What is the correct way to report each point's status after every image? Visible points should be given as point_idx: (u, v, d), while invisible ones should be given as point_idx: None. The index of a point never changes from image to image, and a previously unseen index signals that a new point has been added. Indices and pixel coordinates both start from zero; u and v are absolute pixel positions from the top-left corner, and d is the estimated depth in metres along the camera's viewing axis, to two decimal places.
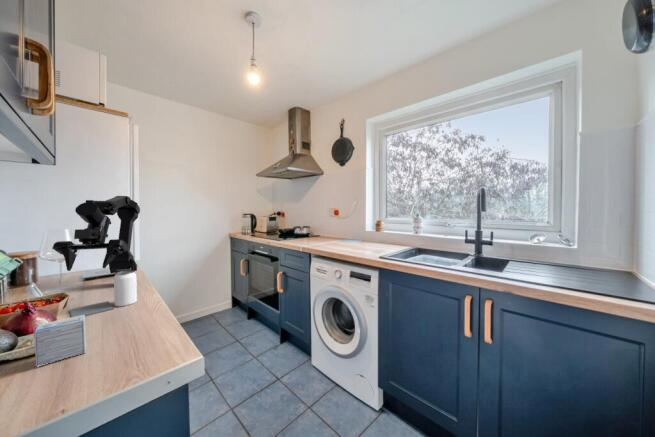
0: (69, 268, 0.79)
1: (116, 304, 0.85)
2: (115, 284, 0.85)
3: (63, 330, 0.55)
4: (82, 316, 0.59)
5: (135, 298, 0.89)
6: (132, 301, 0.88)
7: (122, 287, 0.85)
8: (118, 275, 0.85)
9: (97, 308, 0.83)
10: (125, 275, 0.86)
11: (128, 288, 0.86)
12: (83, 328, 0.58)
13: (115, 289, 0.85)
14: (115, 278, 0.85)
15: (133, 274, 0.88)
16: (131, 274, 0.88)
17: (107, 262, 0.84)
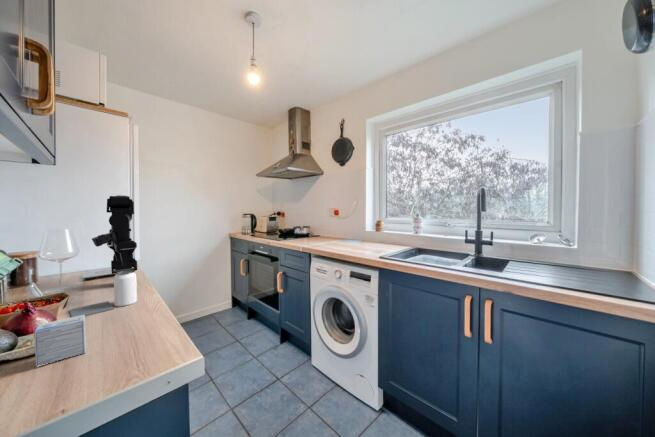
0: (118, 260, 1.00)
1: (116, 304, 0.85)
2: (115, 284, 0.85)
3: (63, 330, 0.55)
4: (82, 316, 0.59)
5: (135, 298, 0.89)
6: (132, 301, 0.88)
7: (122, 287, 0.85)
8: (118, 275, 0.85)
9: (97, 308, 0.83)
10: (125, 275, 0.86)
11: (128, 288, 0.86)
12: (83, 328, 0.58)
13: (115, 289, 0.85)
14: (115, 278, 0.85)
15: (133, 274, 0.88)
16: (131, 274, 0.88)
17: (124, 261, 0.94)
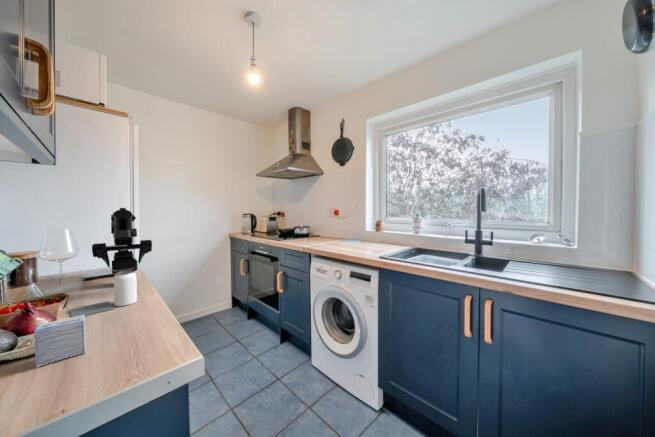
0: (109, 264, 0.91)
1: (116, 304, 0.85)
2: (115, 284, 0.85)
3: (63, 330, 0.55)
4: (82, 316, 0.59)
5: (135, 298, 0.89)
6: (132, 301, 0.88)
7: (122, 287, 0.85)
8: (118, 275, 0.85)
9: (97, 308, 0.83)
10: (125, 275, 0.86)
11: (128, 288, 0.86)
12: (83, 328, 0.58)
13: (115, 289, 0.85)
14: (115, 278, 0.85)
15: (133, 274, 0.88)
16: (131, 274, 0.88)
17: (141, 258, 0.98)
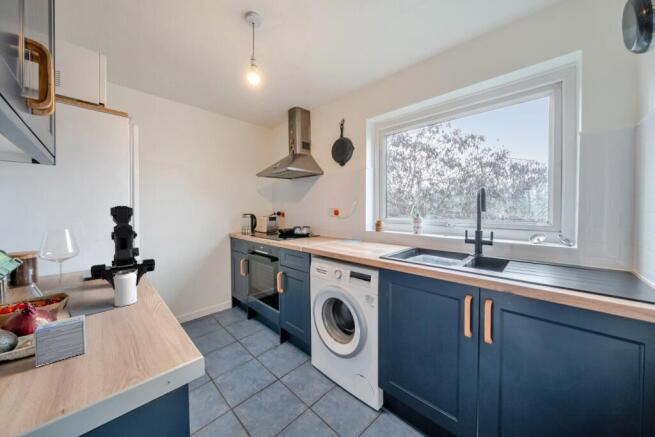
0: (114, 287, 0.85)
1: (116, 304, 0.85)
2: (115, 284, 0.85)
3: (63, 330, 0.55)
4: (82, 316, 0.59)
5: (135, 298, 0.89)
6: (132, 301, 0.88)
7: (122, 287, 0.85)
8: (118, 275, 0.85)
9: (97, 308, 0.83)
10: (125, 275, 0.86)
11: (128, 288, 0.86)
12: (83, 328, 0.58)
13: (115, 289, 0.85)
14: (115, 278, 0.85)
15: (133, 274, 0.88)
16: (131, 274, 0.88)
17: (139, 280, 0.91)
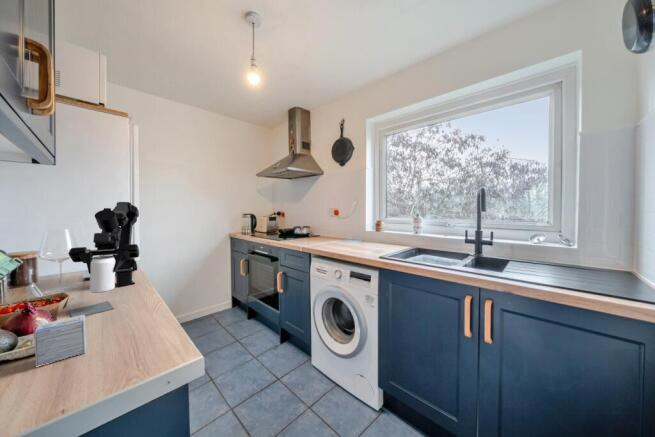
0: (90, 271, 0.82)
1: (90, 290, 0.81)
2: (91, 268, 0.81)
3: (63, 330, 0.55)
4: (82, 316, 0.59)
5: (111, 285, 0.84)
6: (107, 289, 0.83)
7: (97, 273, 0.81)
8: (94, 259, 0.81)
9: (97, 308, 0.83)
10: (101, 260, 0.81)
11: (103, 274, 0.82)
12: (83, 328, 0.58)
13: (90, 273, 0.81)
14: (91, 262, 0.81)
15: (110, 260, 0.84)
16: (108, 259, 0.83)
17: (117, 266, 0.86)
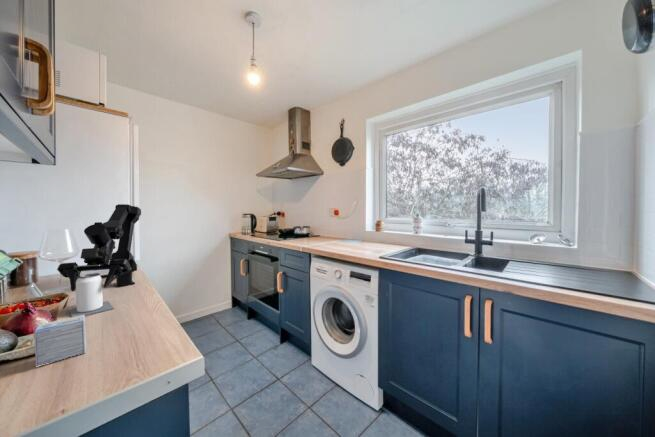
0: (73, 288, 0.80)
1: (77, 309, 0.80)
2: (76, 288, 0.80)
3: (63, 330, 0.55)
4: (82, 316, 0.59)
5: (98, 304, 0.82)
6: (93, 308, 0.81)
7: (81, 292, 0.79)
8: (78, 278, 0.79)
9: None
10: (84, 279, 0.80)
11: (87, 293, 0.80)
12: (83, 328, 0.58)
13: (76, 293, 0.80)
14: (76, 281, 0.80)
15: (95, 278, 0.82)
16: (92, 278, 0.81)
17: (109, 281, 0.84)
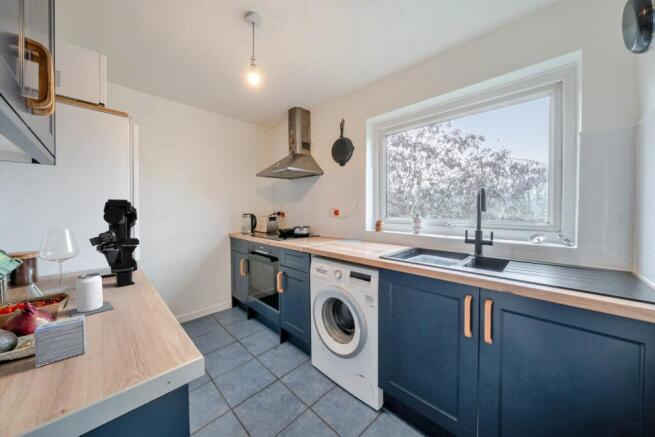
0: (111, 265, 0.98)
1: (77, 309, 0.80)
2: (76, 288, 0.80)
3: (63, 330, 0.55)
4: (82, 316, 0.59)
5: (98, 304, 0.82)
6: (93, 308, 0.81)
7: (81, 292, 0.79)
8: (78, 278, 0.79)
9: None
10: (84, 279, 0.80)
11: (87, 293, 0.80)
12: (83, 328, 0.58)
13: (76, 293, 0.80)
14: (76, 281, 0.80)
15: (95, 278, 0.82)
16: (92, 278, 0.81)
17: (125, 259, 0.94)
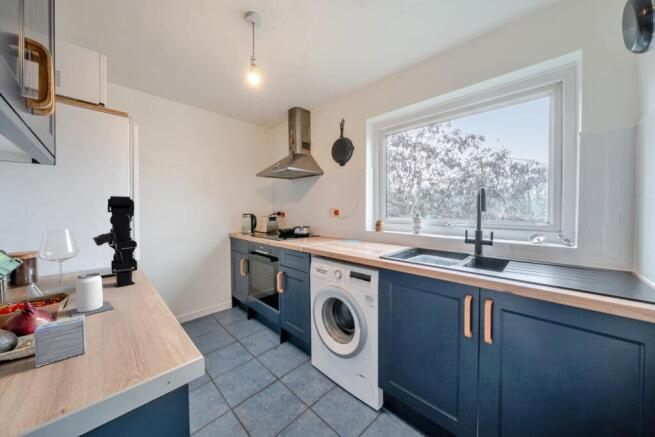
0: (119, 259, 1.01)
1: (77, 309, 0.80)
2: (76, 288, 0.80)
3: (63, 330, 0.55)
4: (82, 316, 0.59)
5: (98, 304, 0.82)
6: (93, 308, 0.81)
7: (81, 292, 0.79)
8: (78, 278, 0.79)
9: None
10: (84, 279, 0.80)
11: (87, 293, 0.80)
12: (83, 328, 0.58)
13: (76, 293, 0.80)
14: (76, 281, 0.80)
15: (95, 278, 0.82)
16: (92, 278, 0.81)
17: (125, 260, 0.95)
